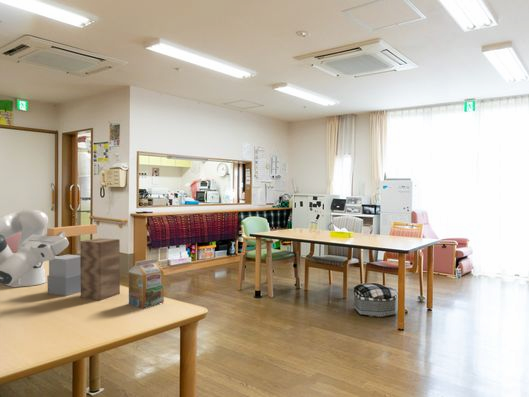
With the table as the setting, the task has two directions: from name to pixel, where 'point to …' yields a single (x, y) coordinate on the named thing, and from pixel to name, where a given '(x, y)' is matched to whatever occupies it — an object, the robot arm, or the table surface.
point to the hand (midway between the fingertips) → (59, 232)
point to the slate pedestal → (64, 275)
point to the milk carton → (146, 284)
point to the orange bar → (72, 230)
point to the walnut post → (100, 268)
